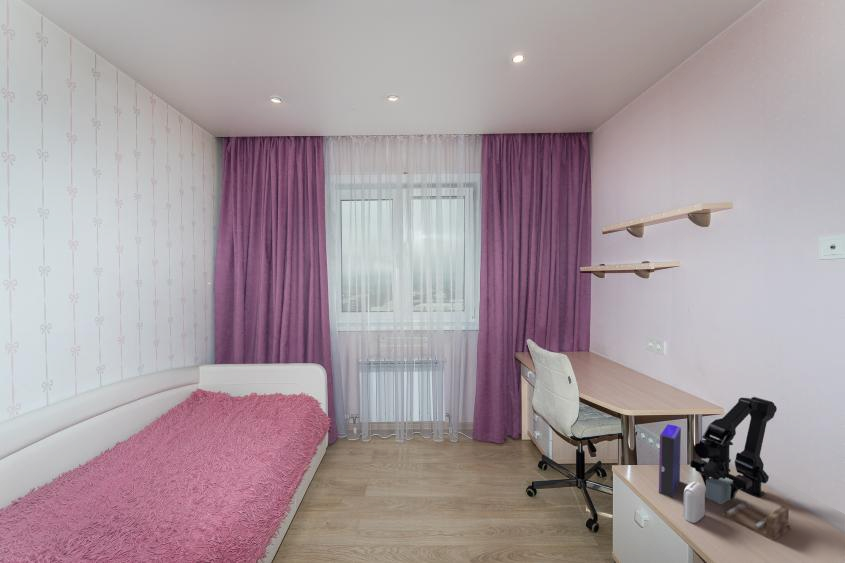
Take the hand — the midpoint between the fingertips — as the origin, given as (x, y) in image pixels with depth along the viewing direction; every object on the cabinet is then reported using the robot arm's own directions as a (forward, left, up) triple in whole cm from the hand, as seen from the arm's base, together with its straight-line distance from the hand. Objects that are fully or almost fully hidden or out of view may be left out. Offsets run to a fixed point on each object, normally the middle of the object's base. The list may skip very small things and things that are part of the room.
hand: (719, 493), depth 142 cm
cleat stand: (+6, +13, -1) cm, 15 cm away
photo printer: (+24, +2, -2) cm, 24 cm away
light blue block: (0, 0, -2) cm, 2 cm away
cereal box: (+11, -13, -2) cm, 17 cm away
